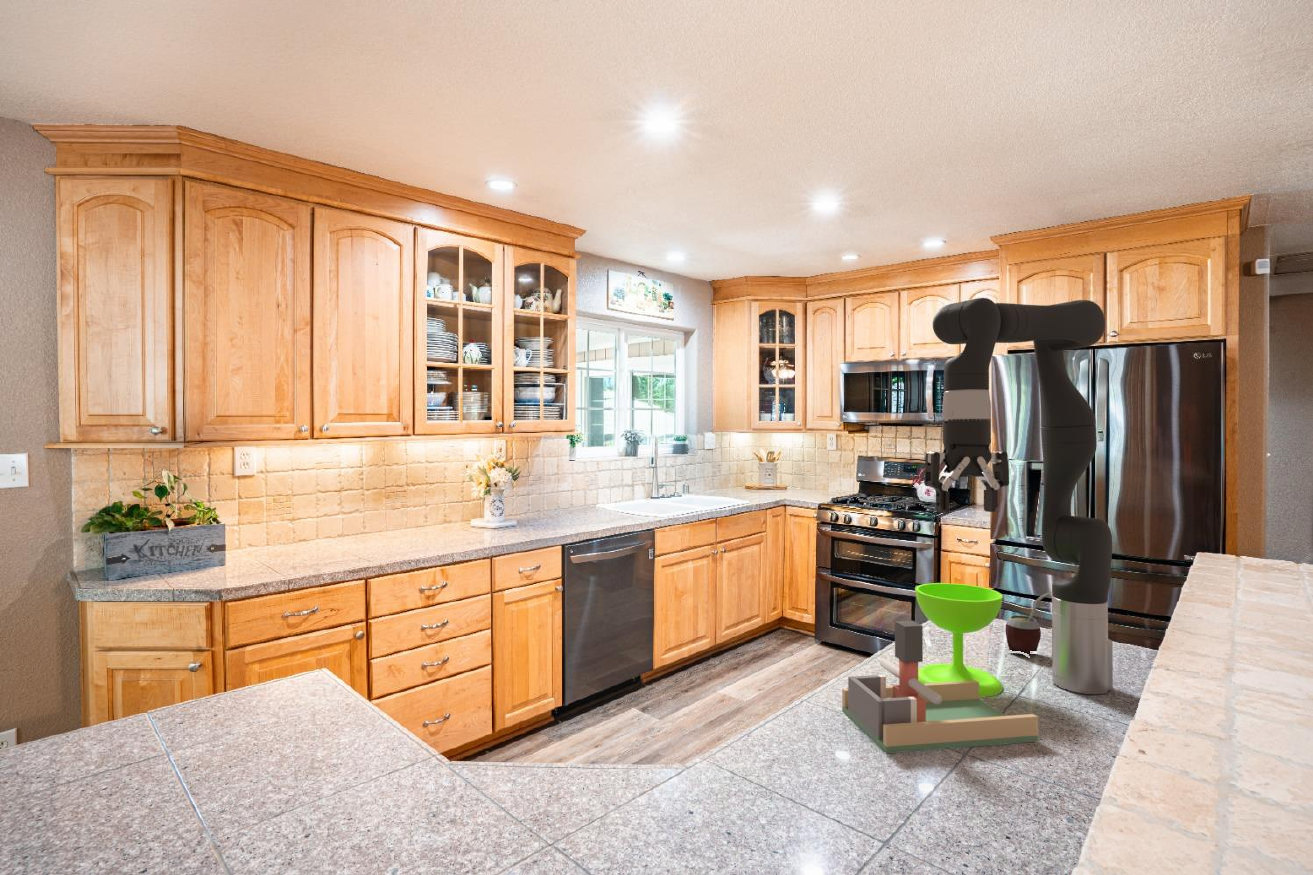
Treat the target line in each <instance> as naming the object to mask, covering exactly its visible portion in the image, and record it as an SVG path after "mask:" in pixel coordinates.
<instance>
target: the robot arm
mask: <svg viewBox="0 0 1313 875" xmlns="http://www.w3.org/2000/svg"><path fill="white" fill-rule="evenodd" d="M932 329H933V333H934V334H935V336H936V338H937V339H938V340H940V341H941V342H943V343H945V344H947V345H963V344H964V345H965V346H964V348H963V351H961V353H960V354H957V355H956V356H952V357H951V358H948V359H947V360H946V361H945V363H944V367H943V399H942V444H943V451H942V452H939V451H926V453H925V457H924V458H925V460H924V461H925V462H924V479H923V484H924V486H926V487H929V488H931V489H934V491H935V508H936V509H937V511H938V512H939V513H940V514H941V513H942V514H949V513H950V491H949V489H950V488H951V486H952V485H953V482H955V481H957V479H958V478H967V477H972V478H973V477H974V478H976V479H977V480H978V481H980V483H981V484H982V486H983V488H985V489H983V511H985V512H987V513H994V512H996V509H998V506H999V503H998V502H999V501H998V500H999V498H998V497H999V494H998V492H999V490H1000V488H1003V487H1008V486H1009V484H1010V476H1009V475H1010V474H1009V460H1008V459H1009V457H1008V452H1007V451H1004V450H1002V451H1001V450H994V451H992V452H991V449H990V444H991V443H992V405H991V404H992V402H991V395H990V364H991V361H992V358H993V355H994V351H995V346H996V345H997V344H998V343H999V344H1012V343H1013V344H1014V343H1015V344H1018V343H1028V342H1033V349H1034V356H1035V363H1036V369H1037V376H1038V385H1039V397H1040V398H1039V402H1040V404H1039V405H1040V436H1041V448H1042V450H1041V451H1042V462H1043V463H1042V466H1043V469H1042V470H1043V494H1042V495H1043V498H1042V499H1043V500H1042V515H1041V544H1042V547H1043V550H1044V552H1045V554H1046V556H1048V557H1049V558H1050V559H1052V560H1054V561H1059V562H1065V563H1071V564H1078V569H1077V570H1078V571H1077V574H1076V575H1074V576H1072V577H1068V578H1061V579H1056V580H1055V581H1053V582H1052V585H1051V627H1052V628H1051V645H1052V648H1051V654H1052V655H1051V659H1052V661H1051V665H1052V666H1051V667H1052V670H1051V671H1052V672H1051V674H1052V675H1051V676H1052V680H1051V681H1053V682H1054V683H1055V684H1056V685H1055V684H1054V683H1053V682H1052V683H1053V684H1054V685H1055V686H1057V685H1058V686H1059V688H1060V689H1064V690H1066V689H1067V691H1069V692H1073V693H1079V694H1085V695H1103V694H1106V693H1108V692H1109V691H1113V690H1114V687H1113V686H1114V685H1113V684H1114V678H1113V673H1114V672H1113V671H1114V670H1113V668H1114V667H1113V661H1114V660H1113V659H1114V658H1113V657H1114V654H1113V649H1114V648H1113V645H1114V644H1113V643H1114V642H1113V640H1111V639H1110V638H1109V622H1108V621H1109V619H1108V618H1109V616H1108V615H1109V614H1108V613H1109V611H1108V609H1109V607H1108V606H1109V605H1108V603H1109V602H1108V601H1109V600H1108V598H1109V597H1108V596H1109V590H1110V588H1111V587H1110V586H1111V579H1112V578H1111V576H1112V559H1113V558H1112V557H1113V535H1112V531H1111V528H1110V526H1109V524H1108V523H1107V522H1106V521H1105V520H1103V519H1101V518H1095V517H1087V516H1076V515H1075V516H1074V515H1072V499H1073V498H1072V497H1073V494H1074V490H1075V487H1076V485H1077V484H1078V481H1079V480H1080V478H1081V477H1082V476H1083V474H1084V472H1085V471H1086V470H1087V468H1089V465H1090V464H1091V462H1092V460H1093V458H1094V457H1095V455H1096V451H1097V447H1098V443H1097V421H1096V415H1095V412H1094V411H1093V409H1092V407H1091V406H1090V404H1089V403H1088V401H1087V400H1086V398H1085V397H1084V396H1083V395H1082V393H1081V392H1080V391H1079V390H1078V388H1077V387H1076V386H1075V384H1074V383H1073V381H1072V380H1071V378H1070V377H1069V374H1068V371H1067V368H1066V363H1065V357H1064V351H1069V350H1075V349H1082V348H1088V347H1091V346H1093V345H1095V344H1097V343H1098V342H1099V341H1100V340H1101V339H1102V337H1103V336H1104V333H1105V330H1106V318H1105V314H1104V310H1102V308H1101V306H1100V305H1098V304H1097V303H1096V302H1094V301H1092V300H1087V299H1078V300H1072V301H1067V302H1062V303H1061V302H1060V303H1054V304H1048V305H1045V304H1044V305H1043V304H1041V305H1040V304H1038V305H1037V304H1024V303H1021V304H1020V303H1009V302H1007V303H1006V302H994V301H993V300H991V299H990V298H988V297H978V298H973V299H968V300H963V301H959V302H953V303H949V304H947V305H944V306H942V307H941V308H939V310H938V311H937V312H936V313H935V315H934V316H933V320H932ZM943 462H944V464H945V465H944V467H943V469H942V470H941V471H940V468H941V466H940V465H941V464H942V463H943ZM989 463H991V464H992V469H991V468H990V467H989V466H988V465H989ZM1058 686H1057V687H1058ZM1112 689H1113V690H1112Z"/></svg>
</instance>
